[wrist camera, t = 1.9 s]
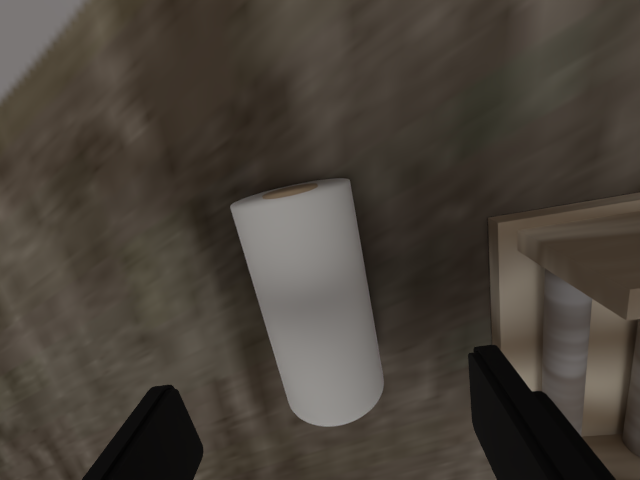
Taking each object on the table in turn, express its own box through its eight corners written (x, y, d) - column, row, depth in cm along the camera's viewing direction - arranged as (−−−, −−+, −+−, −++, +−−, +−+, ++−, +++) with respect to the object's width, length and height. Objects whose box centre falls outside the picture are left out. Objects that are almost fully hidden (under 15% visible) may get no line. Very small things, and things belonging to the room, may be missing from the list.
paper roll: (398, 362, 19) (356, 446, 15) (321, 343, 23) (267, 405, 18) (369, 171, 16) (302, 201, 11) (282, 183, 19) (203, 209, 14)
